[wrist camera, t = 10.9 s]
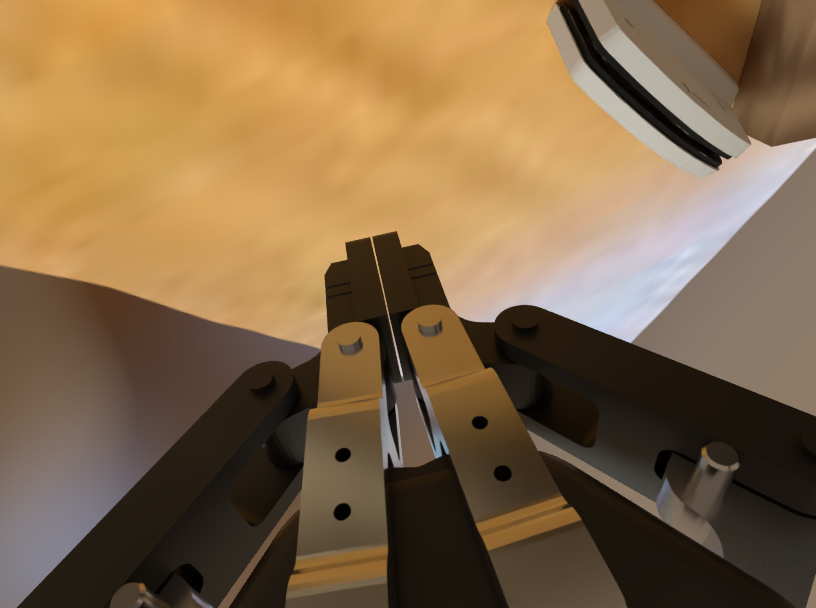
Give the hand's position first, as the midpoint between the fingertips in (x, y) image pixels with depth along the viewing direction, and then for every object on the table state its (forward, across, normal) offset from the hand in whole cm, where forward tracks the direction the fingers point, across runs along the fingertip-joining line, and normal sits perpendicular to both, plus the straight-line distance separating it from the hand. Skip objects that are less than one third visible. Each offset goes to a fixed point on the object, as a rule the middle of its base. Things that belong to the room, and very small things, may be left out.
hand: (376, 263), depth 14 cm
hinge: (+26, -22, +5) cm, 34 cm away
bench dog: (+25, -34, +5) cm, 42 cm away
